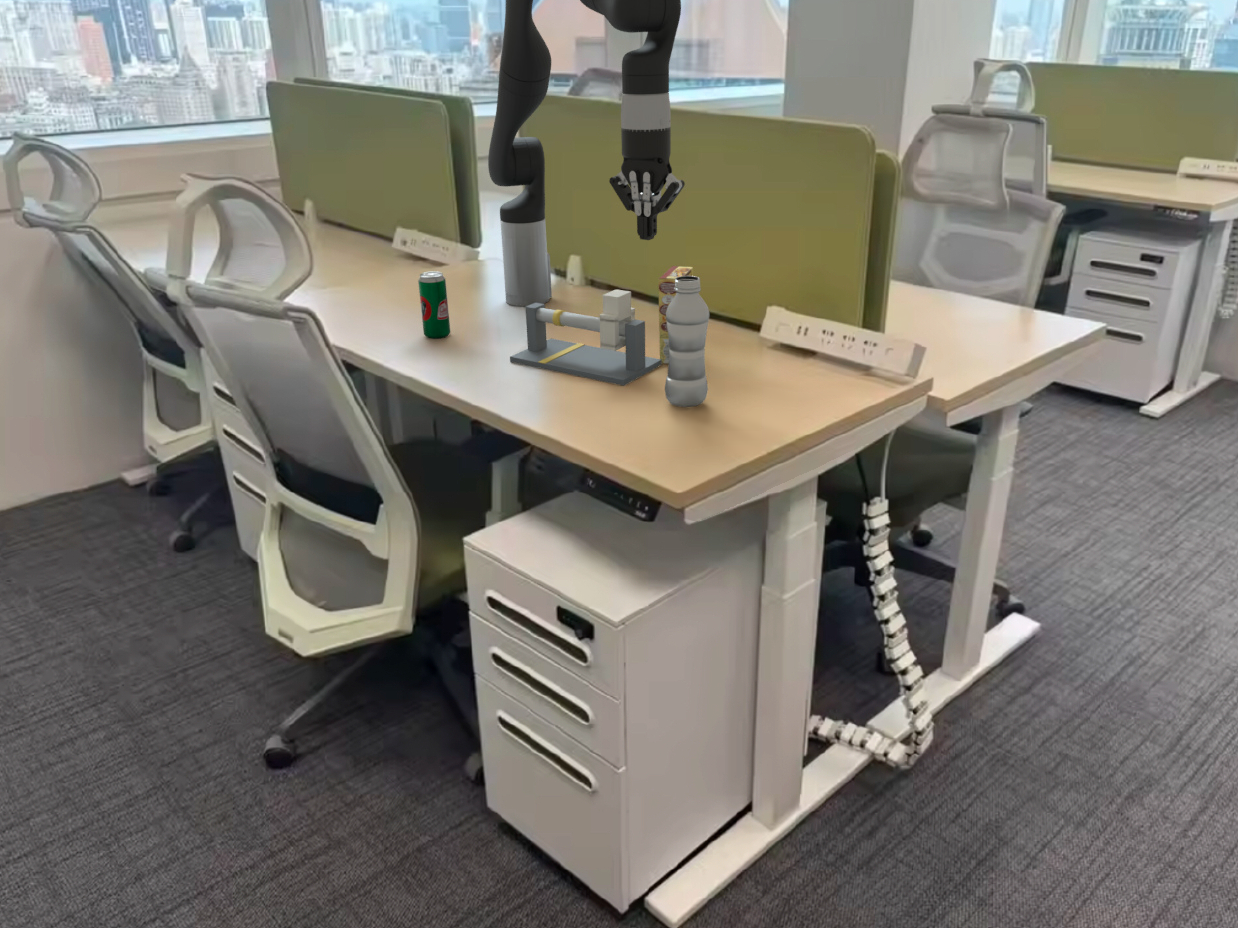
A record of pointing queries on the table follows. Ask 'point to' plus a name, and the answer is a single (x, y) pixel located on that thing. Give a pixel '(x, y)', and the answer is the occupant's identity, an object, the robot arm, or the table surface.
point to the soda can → (434, 305)
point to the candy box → (665, 299)
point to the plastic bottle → (687, 344)
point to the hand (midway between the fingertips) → (646, 238)
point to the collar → (615, 318)
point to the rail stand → (584, 348)
